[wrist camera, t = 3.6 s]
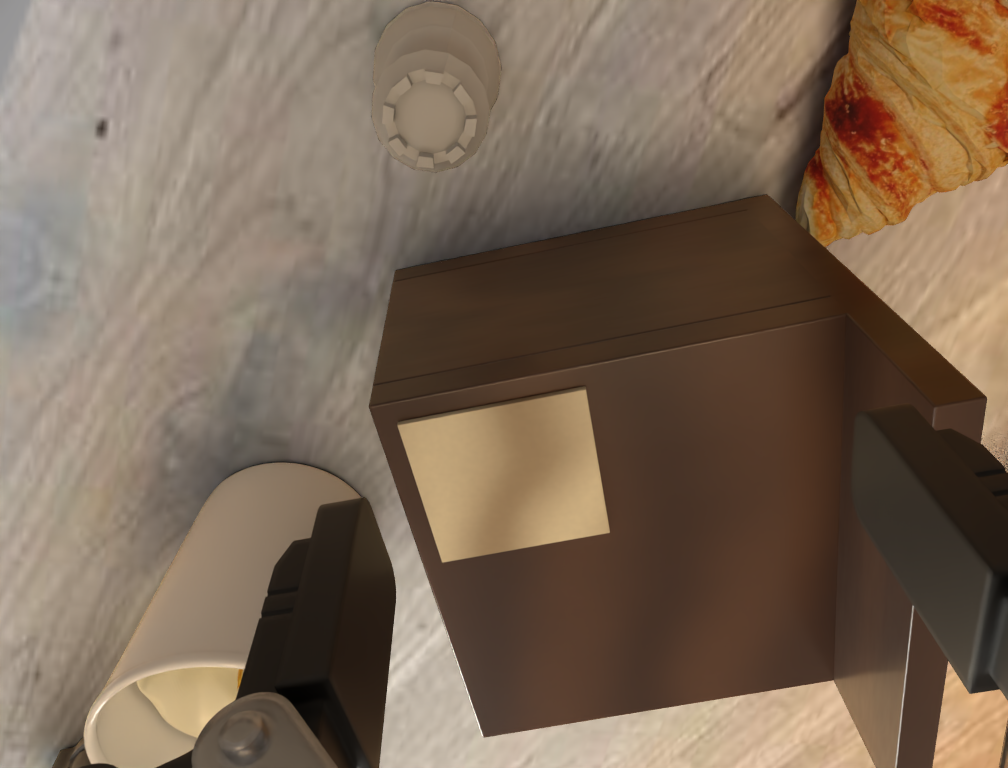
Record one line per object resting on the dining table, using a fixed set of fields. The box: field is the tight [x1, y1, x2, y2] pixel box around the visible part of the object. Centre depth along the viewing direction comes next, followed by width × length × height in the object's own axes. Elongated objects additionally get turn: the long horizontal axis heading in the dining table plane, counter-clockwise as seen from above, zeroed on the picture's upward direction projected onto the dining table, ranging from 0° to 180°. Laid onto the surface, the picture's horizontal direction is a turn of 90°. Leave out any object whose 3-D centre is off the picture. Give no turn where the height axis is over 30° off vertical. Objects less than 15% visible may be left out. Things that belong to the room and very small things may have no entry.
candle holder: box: [84, 463, 361, 768], centre depth 33 cm, size 10×10×12 cm
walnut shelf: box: [369, 195, 987, 768], centre depth 29 cm, size 15×16×15 cm
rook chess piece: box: [371, 1, 502, 172], centre depth 24 cm, size 4×4×8 cm
